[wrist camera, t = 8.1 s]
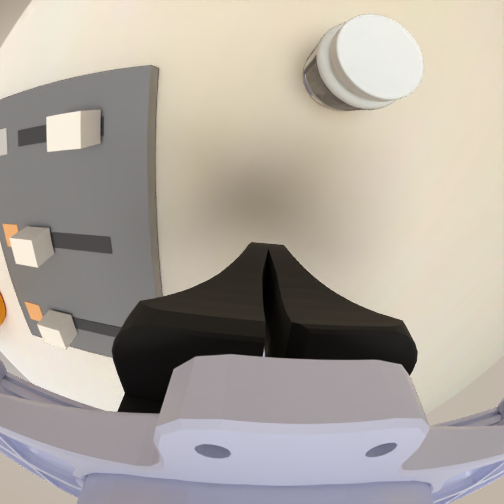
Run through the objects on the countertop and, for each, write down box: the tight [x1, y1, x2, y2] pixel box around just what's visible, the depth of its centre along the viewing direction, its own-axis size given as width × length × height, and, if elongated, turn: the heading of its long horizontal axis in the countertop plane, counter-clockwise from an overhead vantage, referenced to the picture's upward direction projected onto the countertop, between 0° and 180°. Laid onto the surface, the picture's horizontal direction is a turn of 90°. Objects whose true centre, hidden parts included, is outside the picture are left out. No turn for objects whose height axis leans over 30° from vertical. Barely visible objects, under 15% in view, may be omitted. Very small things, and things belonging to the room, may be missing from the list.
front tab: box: [46, 110, 101, 152], centre depth 16 cm, size 2×3×2 cm
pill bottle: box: [303, 14, 424, 111], centre depth 13 cm, size 5×5×8 cm
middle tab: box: [10, 226, 54, 268], centre depth 20 cm, size 2×3×2 cm
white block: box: [37, 310, 77, 349], centre depth 24 cm, size 2×3×2 cm
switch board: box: [0, 65, 162, 358], centre depth 22 cm, size 26×18×2 cm
